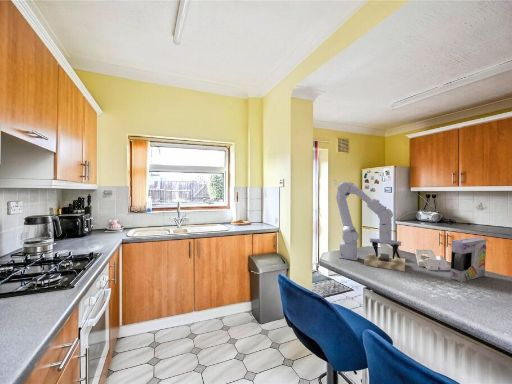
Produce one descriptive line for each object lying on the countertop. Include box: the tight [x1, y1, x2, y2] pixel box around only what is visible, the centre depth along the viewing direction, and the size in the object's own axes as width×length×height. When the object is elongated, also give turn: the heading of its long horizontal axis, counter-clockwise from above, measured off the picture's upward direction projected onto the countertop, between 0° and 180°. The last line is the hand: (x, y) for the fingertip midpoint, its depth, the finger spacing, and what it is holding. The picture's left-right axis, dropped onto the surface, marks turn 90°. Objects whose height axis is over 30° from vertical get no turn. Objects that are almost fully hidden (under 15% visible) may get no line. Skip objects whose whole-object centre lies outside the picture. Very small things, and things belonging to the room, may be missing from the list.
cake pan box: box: [450, 236, 487, 283], centre depth 110 cm, size 19×5×18 cm, turn 112°
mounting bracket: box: [414, 249, 451, 271], centre depth 124 cm, size 12×6×11 cm, turn 87°
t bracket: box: [379, 252, 389, 262], centre depth 128 cm, size 4×7×6 cm, turn 147°
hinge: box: [379, 243, 406, 260], centre depth 144 cm, size 17×5×10 cm, turn 178°
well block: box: [364, 253, 406, 272], centre depth 128 cm, size 18×13×3 cm
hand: (385, 257), depth 128 cm, fingers open, 7 cm apart
